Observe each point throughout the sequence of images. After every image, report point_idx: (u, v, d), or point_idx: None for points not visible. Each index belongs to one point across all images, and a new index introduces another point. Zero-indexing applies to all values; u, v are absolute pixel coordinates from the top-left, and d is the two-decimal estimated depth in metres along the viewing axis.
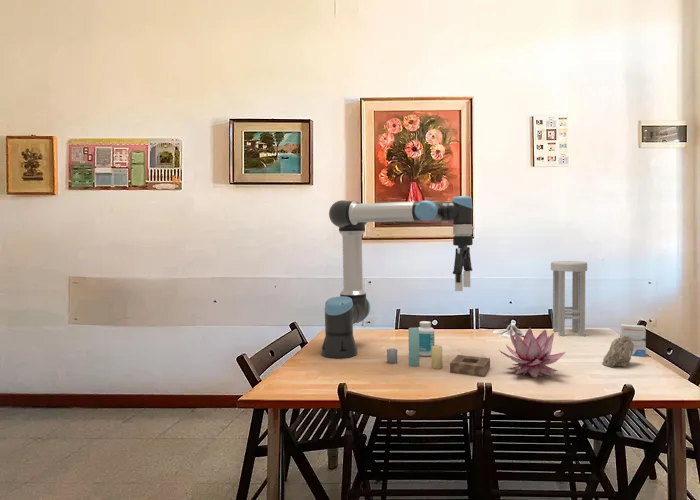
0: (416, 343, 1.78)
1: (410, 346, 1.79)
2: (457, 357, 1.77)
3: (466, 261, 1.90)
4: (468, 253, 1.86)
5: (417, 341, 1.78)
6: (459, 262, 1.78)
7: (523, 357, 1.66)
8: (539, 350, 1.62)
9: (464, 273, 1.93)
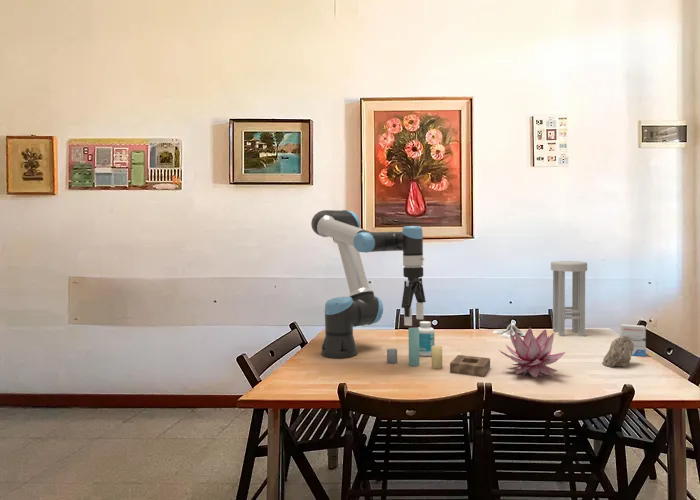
0: (416, 343, 1.78)
1: (410, 346, 1.79)
2: (457, 357, 1.77)
3: (418, 293, 1.82)
4: (419, 285, 1.79)
5: (417, 341, 1.78)
6: (407, 296, 1.71)
7: (523, 357, 1.66)
8: (539, 350, 1.62)
9: (417, 305, 1.85)
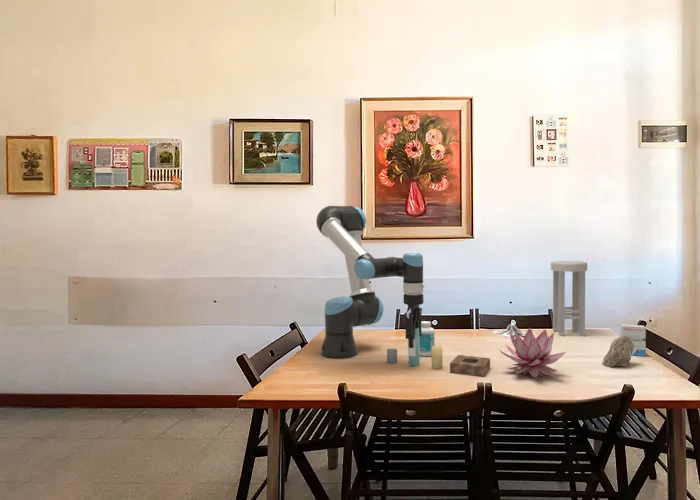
0: (416, 343, 1.78)
1: None
2: (457, 357, 1.77)
3: (416, 322, 1.81)
4: (419, 311, 1.79)
5: (417, 341, 1.78)
6: (410, 328, 1.74)
7: (523, 357, 1.66)
8: (539, 350, 1.62)
9: None
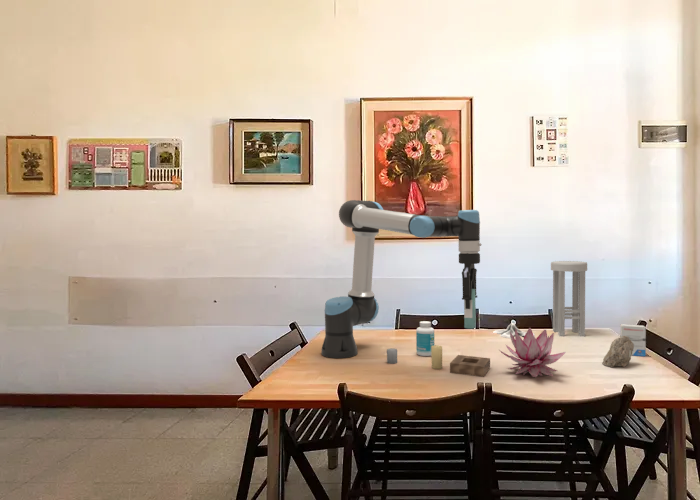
0: (473, 304, 1.70)
1: None
2: (457, 357, 1.77)
3: (472, 283, 1.73)
4: (475, 271, 1.71)
5: (474, 302, 1.70)
6: (467, 287, 1.66)
7: (523, 357, 1.66)
8: (539, 350, 1.62)
9: None
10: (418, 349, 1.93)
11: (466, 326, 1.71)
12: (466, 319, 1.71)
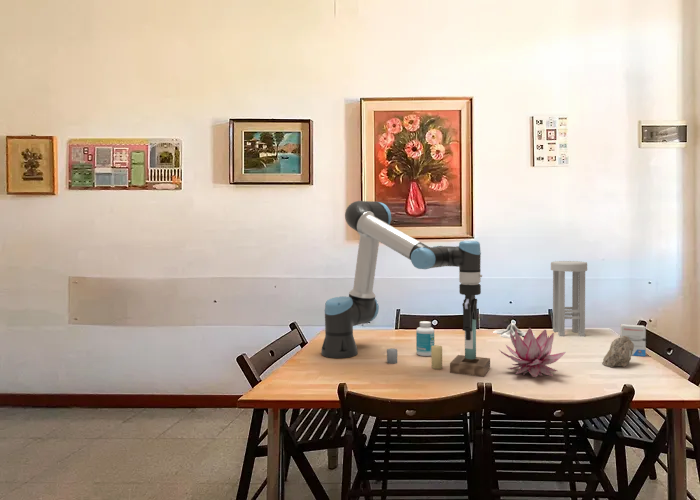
0: (473, 335, 1.70)
1: None
2: (457, 357, 1.77)
3: (472, 313, 1.73)
4: (476, 302, 1.72)
5: (474, 333, 1.71)
6: (468, 319, 1.66)
7: (523, 357, 1.66)
8: (539, 350, 1.62)
9: None
10: (418, 349, 1.93)
11: (466, 357, 1.71)
12: (467, 350, 1.71)
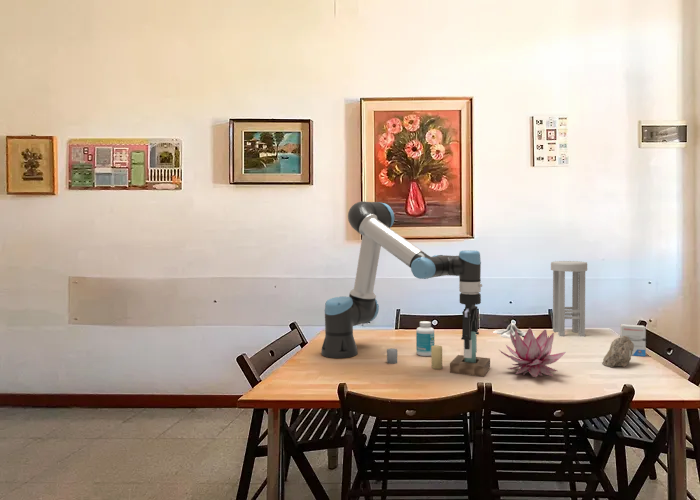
0: (473, 347, 1.70)
1: None
2: (457, 357, 1.77)
3: (473, 322, 1.74)
4: (476, 312, 1.72)
5: (474, 345, 1.71)
6: (467, 328, 1.65)
7: (523, 357, 1.66)
8: (539, 350, 1.62)
9: None
10: (418, 349, 1.93)
11: None
12: None
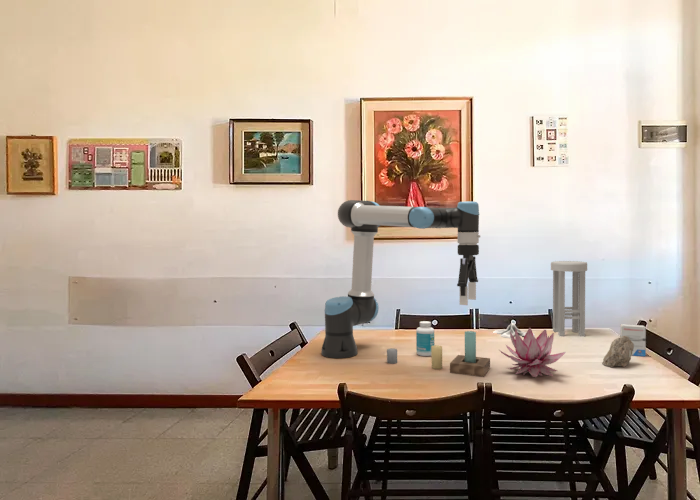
0: (473, 347, 1.70)
1: (467, 350, 1.71)
2: (457, 357, 1.77)
3: (471, 272, 1.75)
4: (474, 263, 1.72)
5: (474, 345, 1.71)
6: (464, 274, 1.64)
7: (523, 357, 1.66)
8: (539, 350, 1.62)
9: (469, 284, 1.78)
10: (418, 349, 1.93)
11: None
12: None
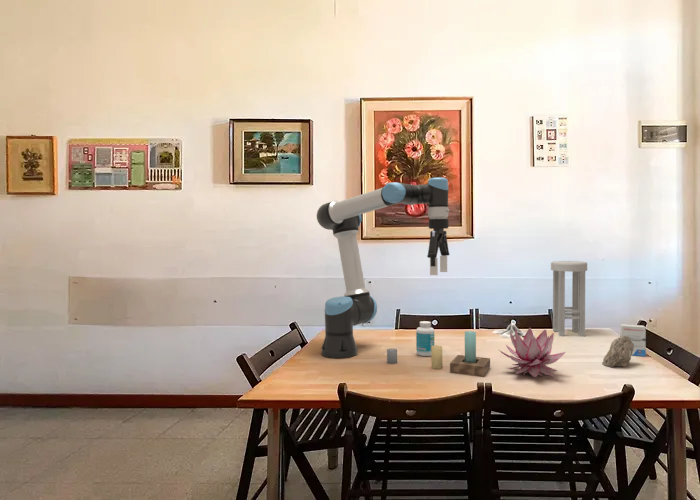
0: (473, 347, 1.70)
1: (467, 350, 1.71)
2: (457, 357, 1.77)
3: (442, 245, 1.84)
4: (444, 236, 1.81)
5: (474, 345, 1.71)
6: (434, 245, 1.73)
7: (523, 357, 1.66)
8: (539, 350, 1.62)
9: (441, 258, 1.87)
10: (418, 349, 1.93)
11: None
12: None
